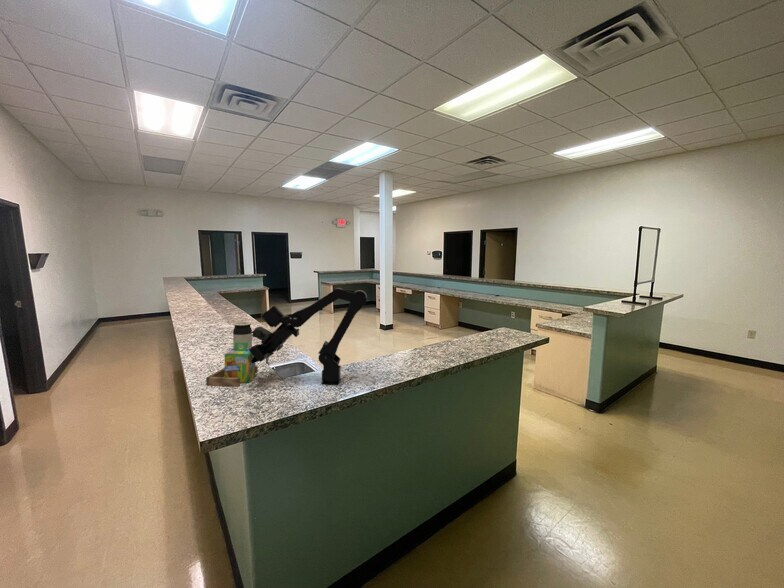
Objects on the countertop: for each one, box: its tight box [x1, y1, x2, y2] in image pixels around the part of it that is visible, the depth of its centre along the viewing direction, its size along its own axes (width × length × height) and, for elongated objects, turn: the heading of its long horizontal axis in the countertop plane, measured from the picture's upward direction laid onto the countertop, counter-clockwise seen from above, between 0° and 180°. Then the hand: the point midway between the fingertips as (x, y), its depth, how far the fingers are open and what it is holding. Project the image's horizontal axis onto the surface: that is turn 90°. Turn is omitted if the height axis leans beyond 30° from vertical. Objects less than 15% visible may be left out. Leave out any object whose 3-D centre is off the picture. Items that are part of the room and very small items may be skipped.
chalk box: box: [224, 342, 256, 384], centre depth 125 cm, size 9×9×15 cm
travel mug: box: [232, 321, 253, 349], centre depth 149 cm, size 8×8×18 cm
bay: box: [205, 365, 259, 388], centre depth 125 cm, size 12×15×3 cm
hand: (252, 361), depth 124 cm, fingers closed
